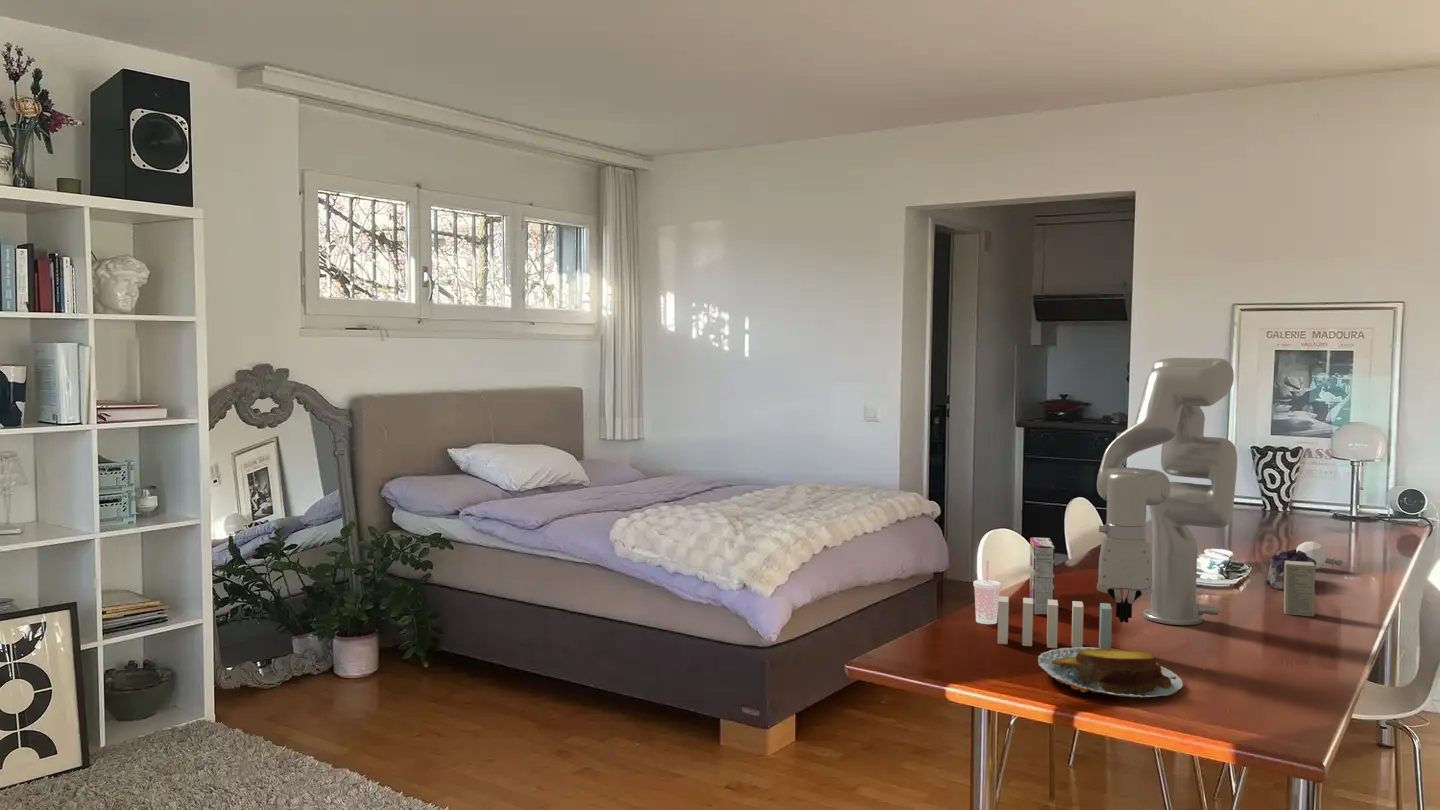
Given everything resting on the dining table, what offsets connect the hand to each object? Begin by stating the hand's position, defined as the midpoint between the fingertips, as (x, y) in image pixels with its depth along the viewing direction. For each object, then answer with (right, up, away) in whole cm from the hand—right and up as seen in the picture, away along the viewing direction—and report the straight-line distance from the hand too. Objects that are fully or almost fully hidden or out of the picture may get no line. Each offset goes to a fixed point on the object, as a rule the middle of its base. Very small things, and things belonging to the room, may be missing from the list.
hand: (1123, 620), depth 218 cm
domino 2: (-18, -6, +6) cm, 20 cm away
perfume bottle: (+85, -2, +79) cm, 116 cm away
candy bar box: (-7, -5, +34) cm, 35 cm away
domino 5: (-3, -6, +1) cm, 7 cm away
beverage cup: (-23, -5, +23) cm, 32 cm away
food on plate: (-10, -8, -20) cm, 23 cm away
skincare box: (+53, -5, +31) cm, 61 cm away
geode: (+68, -3, +62) cm, 91 cm away
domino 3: (-13, -6, +4) cm, 15 cm away
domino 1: (-23, -6, +7) cm, 25 cm away
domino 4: (-9, -6, +3) cm, 11 cm away
